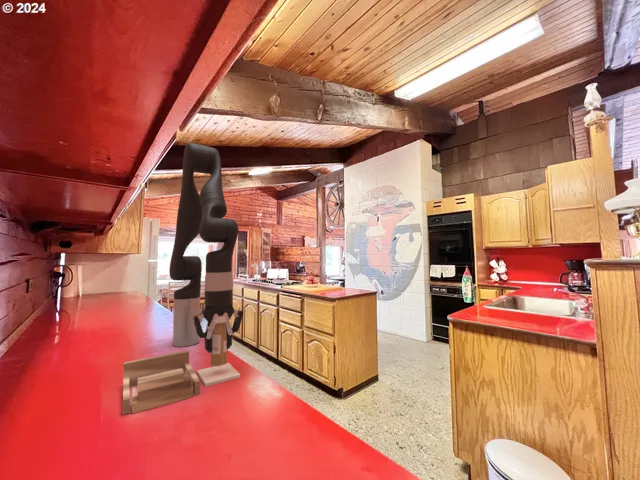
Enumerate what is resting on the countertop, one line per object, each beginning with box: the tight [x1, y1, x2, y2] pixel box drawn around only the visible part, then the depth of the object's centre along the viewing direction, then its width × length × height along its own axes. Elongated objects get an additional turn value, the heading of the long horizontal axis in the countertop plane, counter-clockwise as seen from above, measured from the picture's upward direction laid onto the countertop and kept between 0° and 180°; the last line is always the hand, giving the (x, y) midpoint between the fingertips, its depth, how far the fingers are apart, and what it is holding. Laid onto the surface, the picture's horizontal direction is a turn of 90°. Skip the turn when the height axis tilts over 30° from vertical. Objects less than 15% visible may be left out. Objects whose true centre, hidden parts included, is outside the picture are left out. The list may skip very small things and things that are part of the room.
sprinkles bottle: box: [209, 315, 228, 367], centre depth 77 cm, size 5×5×14 cm
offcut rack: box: [122, 349, 201, 416], centre depth 69 cm, size 16×15×6 cm
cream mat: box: [196, 362, 241, 388], centre depth 77 cm, size 10×9×1 cm
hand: (218, 349), depth 77 cm, fingers closed on sprinkles bottle, 4 cm apart
